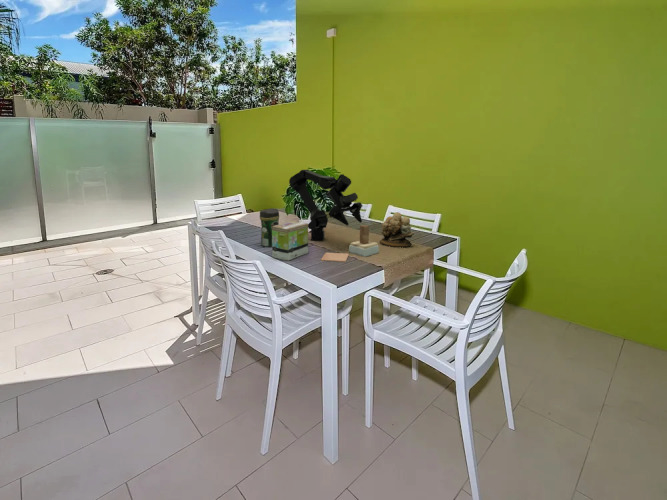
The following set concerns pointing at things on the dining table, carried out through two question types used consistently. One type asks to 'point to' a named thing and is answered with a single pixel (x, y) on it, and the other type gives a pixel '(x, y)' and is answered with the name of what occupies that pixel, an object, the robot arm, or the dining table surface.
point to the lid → (364, 239)
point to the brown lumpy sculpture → (396, 231)
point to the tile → (335, 257)
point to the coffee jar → (268, 225)
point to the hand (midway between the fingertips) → (354, 223)
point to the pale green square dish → (364, 250)
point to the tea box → (289, 240)
